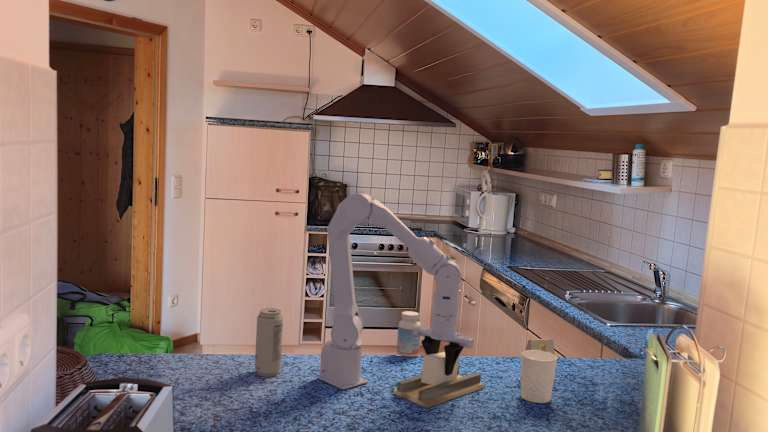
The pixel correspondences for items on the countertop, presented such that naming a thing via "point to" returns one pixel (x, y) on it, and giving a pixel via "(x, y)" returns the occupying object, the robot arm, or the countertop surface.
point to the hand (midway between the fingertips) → (440, 372)
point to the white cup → (537, 375)
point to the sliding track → (437, 389)
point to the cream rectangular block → (437, 369)
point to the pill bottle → (408, 335)
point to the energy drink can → (268, 342)
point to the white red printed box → (541, 345)
